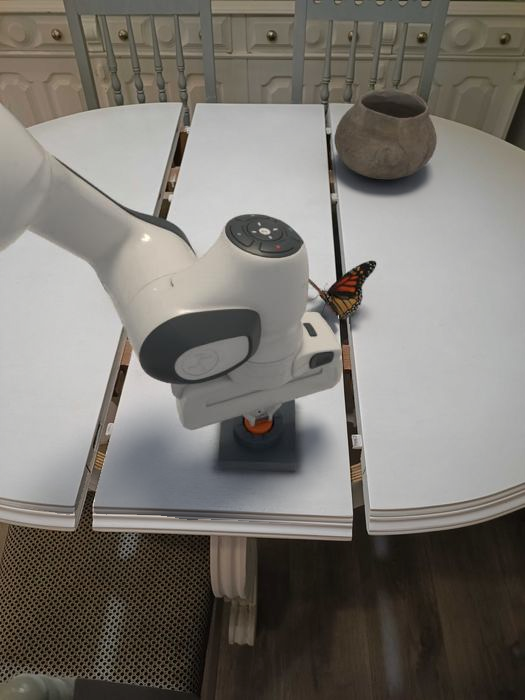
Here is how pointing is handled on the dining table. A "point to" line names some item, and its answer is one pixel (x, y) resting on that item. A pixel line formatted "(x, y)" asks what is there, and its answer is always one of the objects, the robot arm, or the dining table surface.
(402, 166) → the clay pot
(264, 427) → the orange button
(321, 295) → the butterfly
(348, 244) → the dining table surface
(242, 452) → the button box
